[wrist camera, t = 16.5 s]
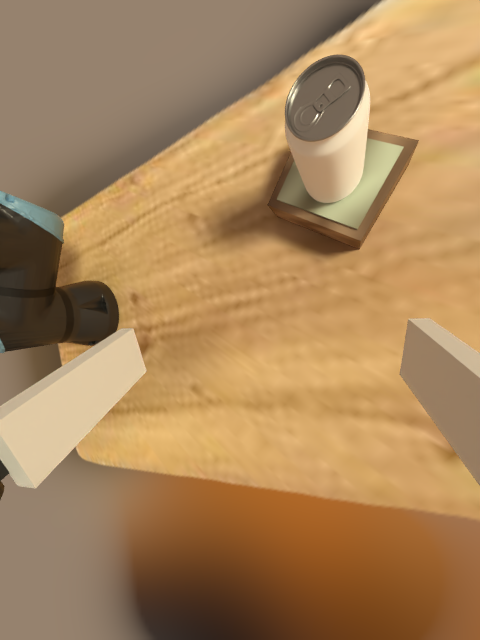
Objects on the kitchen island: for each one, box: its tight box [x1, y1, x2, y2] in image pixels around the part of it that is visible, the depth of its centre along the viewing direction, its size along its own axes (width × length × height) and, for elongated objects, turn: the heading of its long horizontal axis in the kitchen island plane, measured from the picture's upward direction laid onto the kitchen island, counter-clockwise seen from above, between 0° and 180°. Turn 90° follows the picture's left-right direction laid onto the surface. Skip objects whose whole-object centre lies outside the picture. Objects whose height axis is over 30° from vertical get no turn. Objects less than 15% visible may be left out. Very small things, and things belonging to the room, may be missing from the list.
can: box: [285, 55, 370, 203], centre depth 23 cm, size 6×6×12 cm
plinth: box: [268, 129, 419, 249], centre depth 31 cm, size 13×11×5 cm
